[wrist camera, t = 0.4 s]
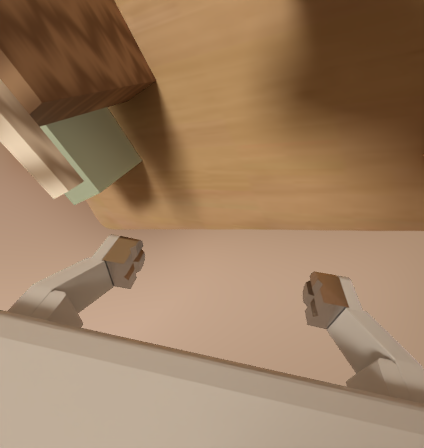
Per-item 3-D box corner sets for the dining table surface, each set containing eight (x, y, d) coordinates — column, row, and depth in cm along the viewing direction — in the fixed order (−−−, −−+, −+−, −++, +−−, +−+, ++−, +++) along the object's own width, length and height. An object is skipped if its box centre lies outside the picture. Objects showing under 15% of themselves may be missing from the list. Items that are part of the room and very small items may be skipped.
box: (142, 160, 53) (100, 192, 40) (119, 172, 56) (74, 205, 44) (93, 85, 45) (22, 96, 33) (70, 104, 49) (-2, 120, 36)
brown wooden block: (156, 80, 42) (42, 102, 22) (126, 101, 45) (5, 136, 25) (107, -12, 36) (-117, -103, 15) (77, 20, 39) (-137, -19, 19)
